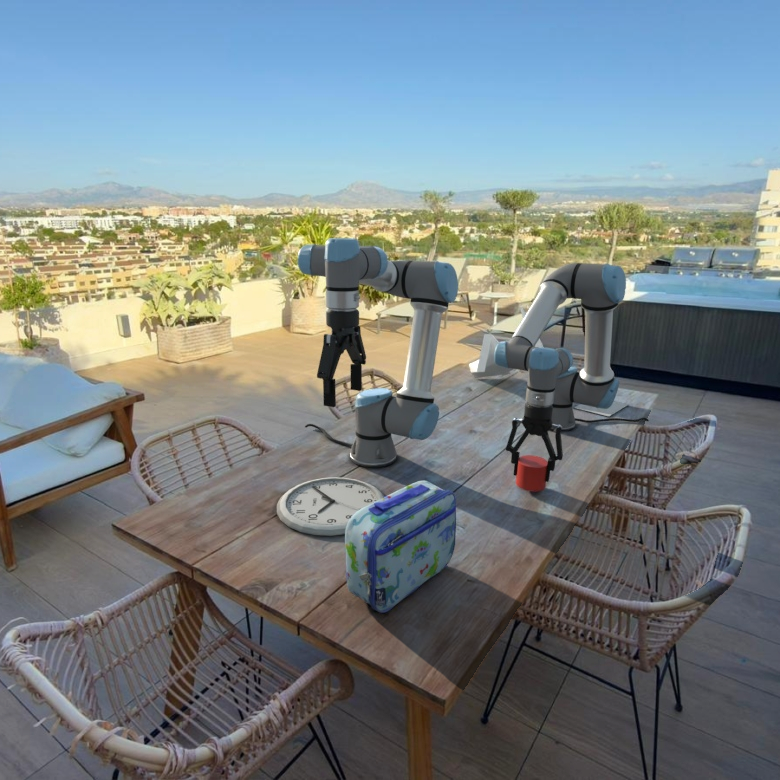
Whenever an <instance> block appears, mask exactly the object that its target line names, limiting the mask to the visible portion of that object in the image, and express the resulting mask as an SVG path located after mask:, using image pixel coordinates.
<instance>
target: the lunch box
mask: <svg viewBox="0 0 780 780" xmlns="http://www.w3.org/2000/svg"><path fill="white" fill-rule="evenodd" d="M456 531H457V499H456V495H455V493H454V492H453V490H450V489H442V488H440V487H439V486H437V485H435V484H433V483H432V482H430V481H428V480H418V481H416V482H413V483H410V484H409V485H406V486H405V487H402V488H400V489H398V490H396V491H394V492H392V493H390V494H388V495H385V497H384V498H382V499H380V500H378V501H376V502H374V503H372V504H370V505H368V506H366V507H364V508H362V509H360V510H358V511H357V512H355V513H354V514H353V515H352V517H351V518H350V520H349V522H348V524H347V527H346V531H345V534H344V552H345V577H346V578H345V580H346V586H347V589H348V592H349V593H350V594H352V595H354V596H356V597H357V598H359V599H361V600H363V602H365V603H367V604H368V605H370V607H371V608H372V609H373V610H375V611H376V612H378V613H380V614H382V613H383V614H385V613H387V612H389V611H391V609H393V608H394V607H395V606H396V605H397V604H400V602H401V601H402V600H404V599H406V597H409V596H410V595H411V594H412V593H414V592H415V591H416V590H417V589H418V588H420V587H421V586H422V585H423V584H424V583H425V582H427V581H428V580H430V579H432V578H433V577H434V576H436V575H437V574H439V573H441V572H442V571H443V570H445V568H446V567H447V566H448V564H449V563H450V561H451V560H452V557H453V554H454V551H455V548H456V547H455V546H456Z"/></svg>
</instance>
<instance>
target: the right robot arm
mask: <svg viewBox="0 0 780 780" xmlns="http://www.w3.org/2000/svg"><path fill="white" fill-rule="evenodd" d="M626 288H627V278H626V273H625V271H624V269H623V268H622V267H621V266H620V265H615V264H610V263H606V264H604V263H603V264H602V263H581V262H572V263H567V264H564V265H562V266H560V267H558V268H557V269H554V271H552V272H551V273H549V274H548V275H547V276H546V277H545V278H544V280H543V281H542V282H541V283H540V285H539V287H538V290H537V293H538V294H537V295H536V297H535V299H534V300H533V302H532V304H531V305H530V307H529V309H528V310H527V312H526V315H525V317H524V319H523V318H522V320H521V322H520V323H519V324H518V326H517V328H516V329H515V332H514V333H513V334H512V336H511V337H510V339H509V340H510V341H509V342H501V341H499V342H500V343H498V344H497V346H496V348H495V351H494V360H495V363H496V364H497V365H499V366H502V367H506V368H512V369H513V370H519V371H525V372H527V384H526V393H525V403H524V411H523V412H524V413H523V418H518V417H514V418H513V419H512V421H511V427H512V428H511V431H510V434H509V437H508V440H507V443H506V446H505V452H510V453H511V456H510V457H511V459H510V463H511V464H512V465H513V464H514V465H513V476H515V477H516V475H517V465H518V458H519V457H520V455H521V454H520V451H519V450H520V448H521V446H522V445H523V443H524V442H525V440H526V439H527V437H528V436H529V435H530V436H538V437H541V439H542V441H543V443H544V445H545V448H546V451H547V453H548V456H549V457H548V460H547V462H548V464H547V473H546V483H549V481H550V476H551V472H554V471H555V468H556V461H562V460H563V457H564V452H563V451H564V450H563V441H562V432H567V431H572V430H574V429H575V428H576V422H582V423H586V424H590V423H591V424H592V423H600V422H611V421H613V422H614V421H617V422H618V421H621V422H630V423H638V422H641V421H646V422H650V420H649V419H648V418H647V417H645V416H643V417H640V418H637V419H632V418H631V419H630V418H621V417H616V418H615V417H611V418H610V417H608V418H599V419H594V420H593V419H590V420H589V419H587V420H586V419H581V418H577V417H576V416H575V413H574V407H573V405H574V404H578V405H580V404H583V405H587V406H592V407H596V408H603V409H608V408H609V407H610V406H611V405H612V403H613V401H614V402H615V399H616V396H617V394H618V391H619V387H620V379H618V378H617V377H615V373H614V370H612V369H611V355H612V354H611V353H612V339H613V337H612V335H613V319H614V310H615V309H616V308H617V307H618V306H619V304H620V303H622V302H623V300H624V299H625V295H626ZM567 299H574V300H575V299H576V300H580V305H581V309H583V310H584V311H585V321H584V323H585V324H584V327H585V328H584V331H585V332H584V360H583V361H584V363H583V368H581V370H580V371H578V368H577V366H573V363H574V357H573V355H572V353H571V352H570V351H569V350H568V349H567V348H565V347H555V348H551V347H544V346H543V347H544V348H543V347H535V345H536V343H537V342H538V340H539V339H541V336H542V335H543V334H544V332H545V330H546V328H547V326H548V325H549V323H550V321H551V319H552V318H553V317H554V314H555V313H556V312H557V309H558V308H559V306H560V305H562V304H564V303H565V302H566V301H567ZM521 424H522V426H523V427H524V429H525V430H524V432H523V433H522V435H521V436H520V438H519V439H518V441H517V442H516V443H515V445H514V446H513V444H514V440H515V438H516V434H517V431H518V429H519V427H520V426H521ZM549 431H553V433H555V434H554V435H555V445H556V447H555V448H556V450H555V448H554V447H553V443H552V441H551V437H550V434H549ZM555 451H556V452H555Z"/></svg>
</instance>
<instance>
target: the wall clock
mask: <svg viewBox="0 0 780 780" xmlns="http://www.w3.org/2000/svg"><path fill="white" fill-rule="evenodd" d="M384 497H386V495H385V494H384V493H383V492H382V491H381V490H380V489H379V488H377V487H376V486H374V485H372V484H371V483H369V482H365V481H362V480H359V479H355V478H349V477H338V476H337V477H335V476H333V477H332V476H331V477H322V478H317V479H312V480H307V481H305V482H302V483H299V484H297V485H295V486H293V487H292V488H290V489H288V490H287V491H286V492H285V493H284V494H283V495H281V496H280V498H279V499H278V502H277V503H276V515H277V517H278V518H279V520H280V521H281V522H282V523H283V524H285V525H286V526H287V527H288V528H290V529H293V530H295V531H297V532H299V533H303V534H308V535H312V536H327V537H328V536H329V537H331V536H332V537H333V536H342V535H345V531H346V527H347V524H348V522H349V520H350V518H351V517H352V515H353V514H354V513H355V512H357V511H358V510H360V509H362V508H364V507H366V506H368V505H370V504H372V503H374V502H376V501H378V500H380V499H382V498H384Z"/></svg>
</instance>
